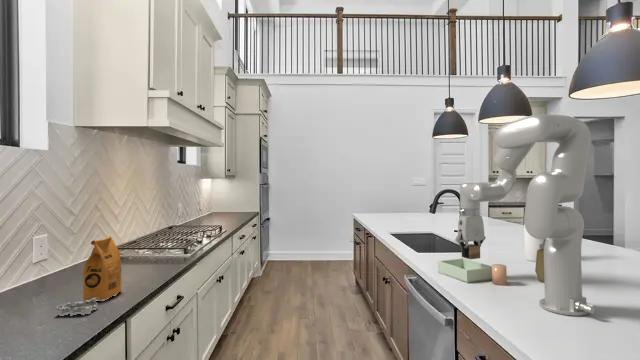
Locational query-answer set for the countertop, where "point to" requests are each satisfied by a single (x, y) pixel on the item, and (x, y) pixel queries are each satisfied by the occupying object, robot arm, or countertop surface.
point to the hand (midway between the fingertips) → (470, 256)
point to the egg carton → (73, 307)
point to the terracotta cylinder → (499, 274)
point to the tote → (465, 270)
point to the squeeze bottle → (540, 262)
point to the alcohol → (531, 246)
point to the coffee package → (102, 270)
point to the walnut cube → (473, 251)
